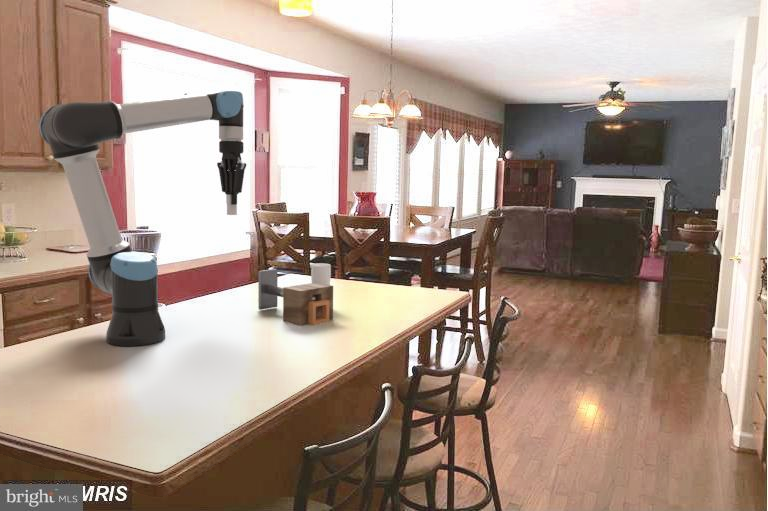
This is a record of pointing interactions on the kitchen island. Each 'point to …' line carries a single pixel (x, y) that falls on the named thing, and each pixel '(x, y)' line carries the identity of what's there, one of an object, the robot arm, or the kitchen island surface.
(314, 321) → the orange square frame
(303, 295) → the bearing block
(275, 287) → the shaft
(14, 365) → the kitchen island surface
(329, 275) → the drinking glass
